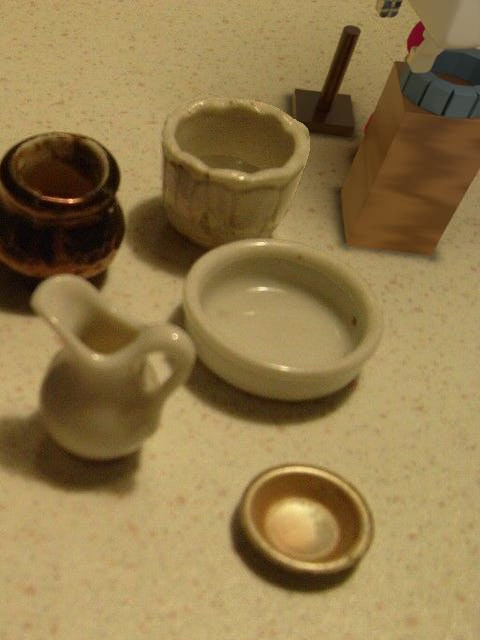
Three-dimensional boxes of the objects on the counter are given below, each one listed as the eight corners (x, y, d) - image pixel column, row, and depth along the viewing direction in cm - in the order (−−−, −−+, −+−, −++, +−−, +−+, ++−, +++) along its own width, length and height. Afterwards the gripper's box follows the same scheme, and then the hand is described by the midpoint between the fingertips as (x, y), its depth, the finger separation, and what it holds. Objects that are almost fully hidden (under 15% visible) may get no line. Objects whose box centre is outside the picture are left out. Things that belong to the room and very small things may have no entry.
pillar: (420, 202, 98) (488, 70, 85) (430, 256, 93) (504, 124, 80) (340, 192, 99) (394, 60, 86) (345, 245, 94) (405, 112, 80)
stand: (346, 104, 110) (380, 17, 101) (351, 137, 106) (386, 49, 97) (291, 98, 111) (319, 10, 102) (293, 130, 107) (322, 42, 97)
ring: (488, 70, 85) (499, 47, 83) (504, 124, 80) (518, 100, 78) (394, 60, 86) (404, 37, 84) (405, 112, 80) (415, 89, 79)
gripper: (557, -57, 63) (474, 105, 74) (456, -165, 76) (399, -14, 87) (472, -56, 63) (402, 105, 74) (386, -165, 76) (337, -14, 87)
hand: (400, 40), depth 80 cm, fingers open, 8 cm apart
